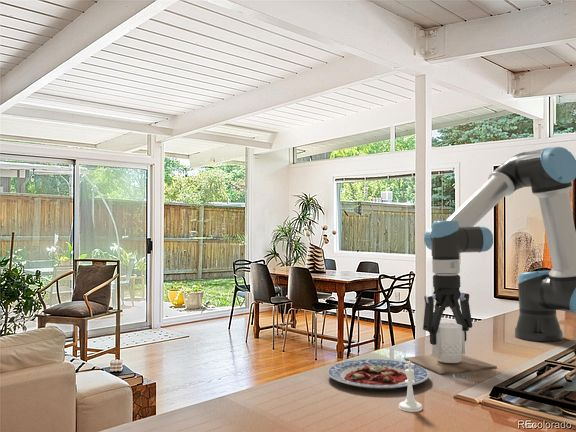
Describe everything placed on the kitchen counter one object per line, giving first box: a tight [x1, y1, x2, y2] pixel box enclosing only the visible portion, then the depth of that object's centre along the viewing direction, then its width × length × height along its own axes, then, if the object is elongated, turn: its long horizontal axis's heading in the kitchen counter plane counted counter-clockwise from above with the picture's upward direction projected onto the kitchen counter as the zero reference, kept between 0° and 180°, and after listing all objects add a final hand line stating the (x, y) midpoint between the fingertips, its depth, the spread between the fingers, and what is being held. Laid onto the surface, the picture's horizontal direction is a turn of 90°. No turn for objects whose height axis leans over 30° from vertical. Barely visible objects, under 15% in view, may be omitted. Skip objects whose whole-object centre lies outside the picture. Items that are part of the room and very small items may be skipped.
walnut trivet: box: [404, 354, 498, 376], centre depth 147 cm, size 18×18×1 cm
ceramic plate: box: [327, 358, 430, 390], centre depth 133 cm, size 26×26×3 cm
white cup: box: [437, 322, 463, 363], centre depth 147 cm, size 8×8×10 cm
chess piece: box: [398, 361, 423, 413], centre depth 111 cm, size 5×5×10 cm
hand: (448, 354), depth 147 cm, fingers closed on white cup, 8 cm apart
